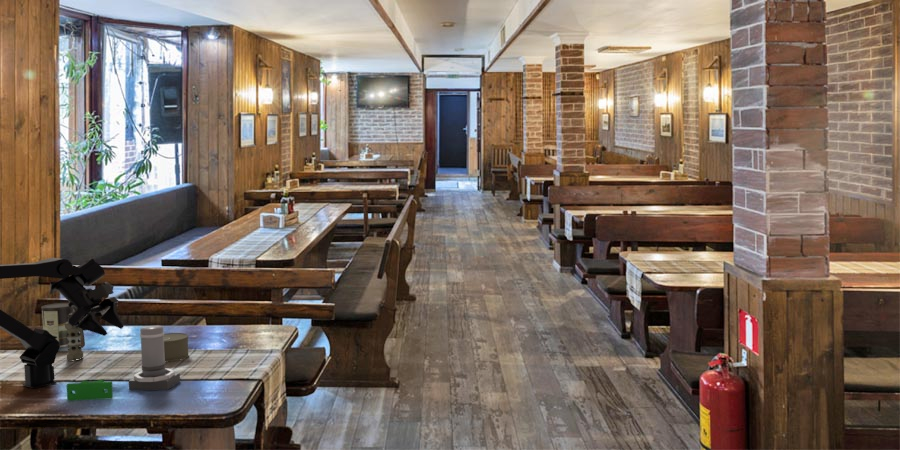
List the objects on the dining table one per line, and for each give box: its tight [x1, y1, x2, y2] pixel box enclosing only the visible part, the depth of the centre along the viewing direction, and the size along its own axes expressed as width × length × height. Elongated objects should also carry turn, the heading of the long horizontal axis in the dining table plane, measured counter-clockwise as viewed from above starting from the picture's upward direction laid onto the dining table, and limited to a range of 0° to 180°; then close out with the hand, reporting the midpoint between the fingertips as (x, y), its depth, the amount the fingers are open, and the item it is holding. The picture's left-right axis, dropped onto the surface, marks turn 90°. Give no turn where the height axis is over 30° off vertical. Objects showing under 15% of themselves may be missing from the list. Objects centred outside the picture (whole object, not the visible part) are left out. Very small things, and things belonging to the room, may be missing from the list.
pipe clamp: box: [66, 378, 114, 402], centre depth 195 cm, size 11×4×5 cm, turn 98°
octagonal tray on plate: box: [128, 367, 181, 391], centre depth 205 cm, size 11×10×4 cm
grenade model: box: [65, 313, 86, 361], centre depth 235 cm, size 6×7×15 cm
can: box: [164, 332, 189, 362], centre depth 235 cm, size 12×12×7 cm
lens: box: [139, 325, 166, 377], centre depth 204 cm, size 6×6×14 cm
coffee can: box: [40, 302, 75, 348], centre depth 254 cm, size 10×10×14 cm
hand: (114, 331), depth 214 cm, fingers open, 9 cm apart
